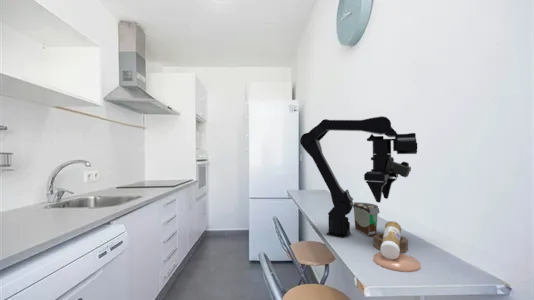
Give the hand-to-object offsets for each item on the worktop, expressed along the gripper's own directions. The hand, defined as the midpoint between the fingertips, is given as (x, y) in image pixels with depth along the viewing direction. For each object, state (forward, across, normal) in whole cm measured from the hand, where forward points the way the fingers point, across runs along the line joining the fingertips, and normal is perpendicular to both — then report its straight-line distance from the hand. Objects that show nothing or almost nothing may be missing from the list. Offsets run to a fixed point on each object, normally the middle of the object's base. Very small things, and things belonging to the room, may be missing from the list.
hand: (382, 200), depth 86 cm
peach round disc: (+13, -18, -8) cm, 24 cm away
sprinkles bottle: (+7, -6, -5) cm, 10 cm away
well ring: (+13, -7, -4) cm, 15 cm away
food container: (+13, +5, +6) cm, 15 cm away
